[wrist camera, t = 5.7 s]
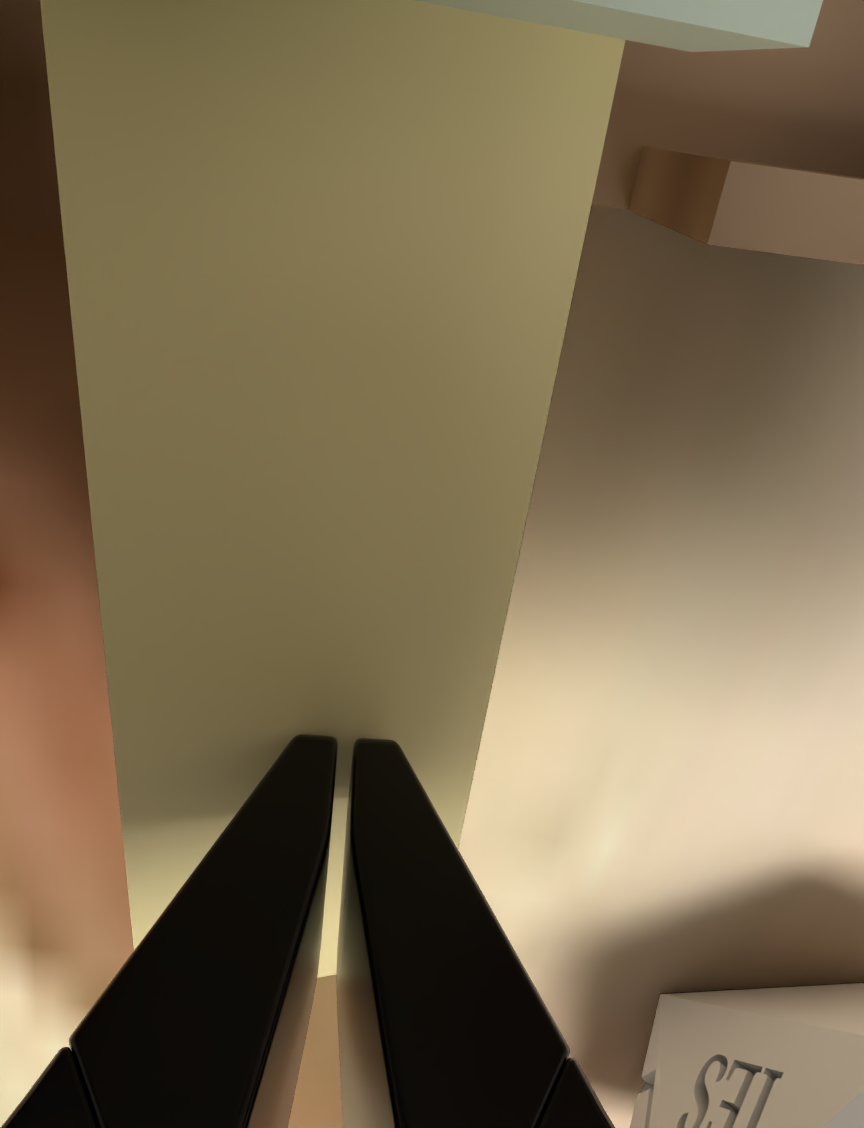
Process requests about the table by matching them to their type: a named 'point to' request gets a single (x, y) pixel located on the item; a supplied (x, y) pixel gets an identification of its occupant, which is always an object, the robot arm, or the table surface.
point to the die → (756, 1059)
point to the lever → (322, 365)
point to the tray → (746, 142)
